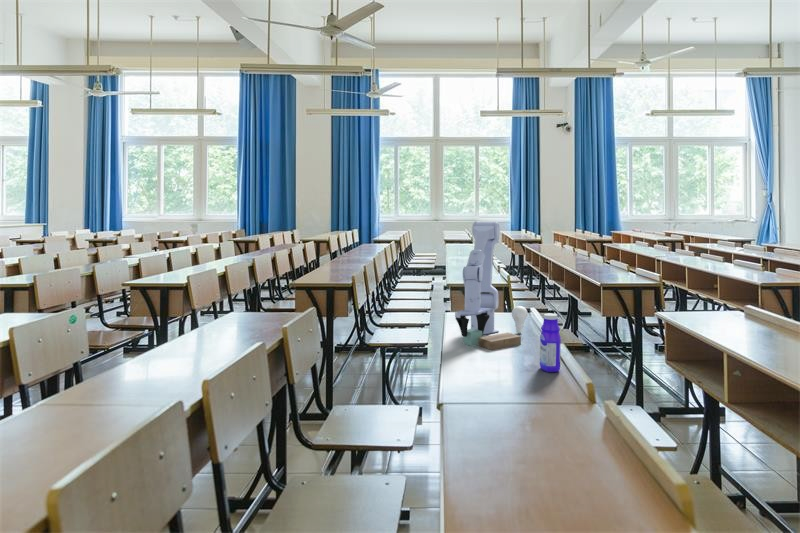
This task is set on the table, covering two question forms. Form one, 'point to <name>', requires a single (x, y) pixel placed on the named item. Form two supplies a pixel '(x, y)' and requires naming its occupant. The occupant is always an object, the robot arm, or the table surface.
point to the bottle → (550, 344)
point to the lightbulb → (519, 318)
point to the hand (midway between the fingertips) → (472, 334)
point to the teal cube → (472, 337)
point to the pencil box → (499, 341)
